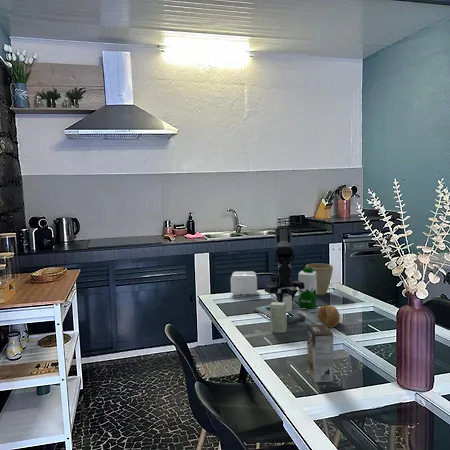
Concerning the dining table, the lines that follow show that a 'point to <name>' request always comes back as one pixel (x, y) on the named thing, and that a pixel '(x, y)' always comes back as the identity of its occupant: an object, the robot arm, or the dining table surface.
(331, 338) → the coffee box
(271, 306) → the skincare box
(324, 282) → the plant pot
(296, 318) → the socket panel
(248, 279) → the white rounded box
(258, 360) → the dining table surface
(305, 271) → the milk carton
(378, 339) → the dining table surface
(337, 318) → the bread roll
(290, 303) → the plug
